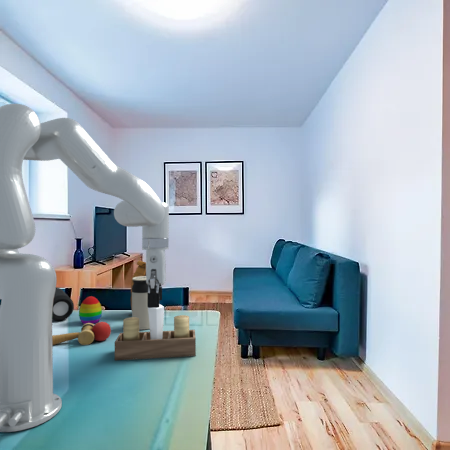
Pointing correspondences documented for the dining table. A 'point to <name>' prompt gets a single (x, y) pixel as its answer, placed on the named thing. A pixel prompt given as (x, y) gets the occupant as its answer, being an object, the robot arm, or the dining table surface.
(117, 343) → the wooden condiment caddy
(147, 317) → the travel mug
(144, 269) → the coffee package
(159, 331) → the white faceted vase
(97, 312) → the decorative egg
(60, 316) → the portable speaker
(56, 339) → the kendama
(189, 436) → the dining table surface
